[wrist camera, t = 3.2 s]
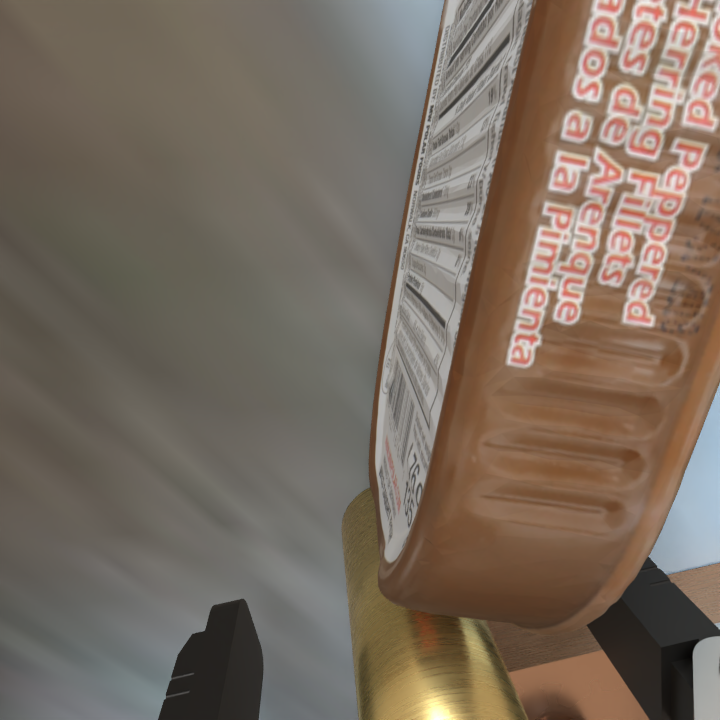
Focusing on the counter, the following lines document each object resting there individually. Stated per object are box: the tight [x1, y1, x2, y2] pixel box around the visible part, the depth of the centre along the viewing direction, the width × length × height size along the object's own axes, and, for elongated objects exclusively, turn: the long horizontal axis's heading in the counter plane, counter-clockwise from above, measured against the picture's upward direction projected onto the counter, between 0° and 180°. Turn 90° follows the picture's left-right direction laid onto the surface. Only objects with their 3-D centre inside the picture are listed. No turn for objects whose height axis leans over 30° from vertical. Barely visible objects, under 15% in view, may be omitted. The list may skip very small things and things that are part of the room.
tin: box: [369, 0, 720, 636], centre depth 8 cm, size 15×3×8 cm, turn 171°
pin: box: [342, 487, 529, 720], centre depth 10 cm, size 3×3×9 cm
